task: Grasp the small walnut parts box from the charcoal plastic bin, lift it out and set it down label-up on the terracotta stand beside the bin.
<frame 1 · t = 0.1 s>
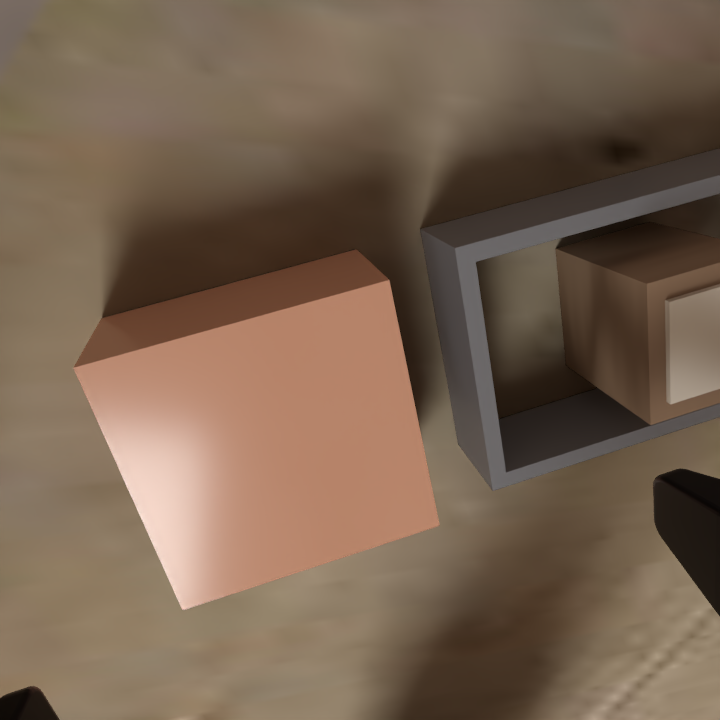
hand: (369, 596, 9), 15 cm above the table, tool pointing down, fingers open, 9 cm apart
terracotta stand: (267, 396, 23), on the table
charcoal bin: (607, 296, 25), on the table
walnut box: (651, 316, 22), in the charcoal bin
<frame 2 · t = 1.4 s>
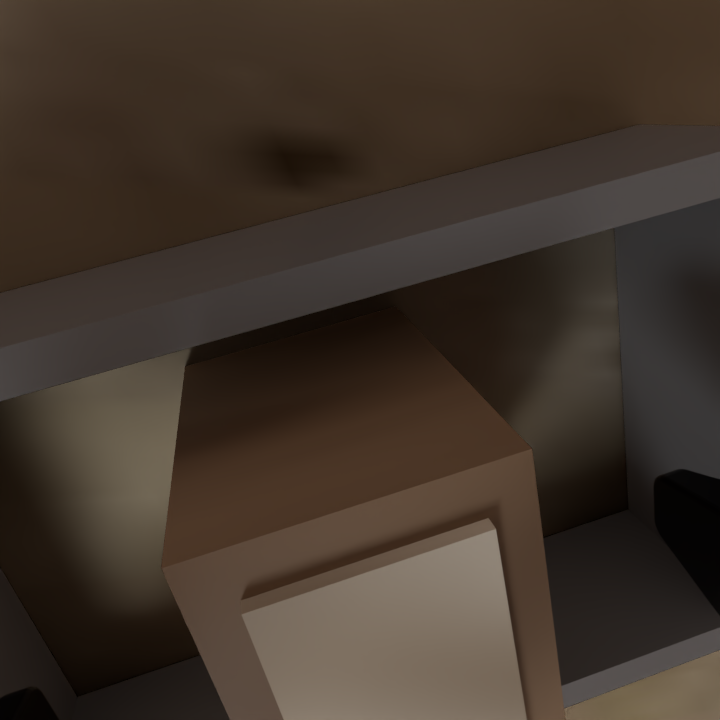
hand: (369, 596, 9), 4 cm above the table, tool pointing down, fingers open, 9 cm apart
charcoal bin: (325, 450, 12), on the table
walnut box: (353, 536, 10), in the charcoal bin
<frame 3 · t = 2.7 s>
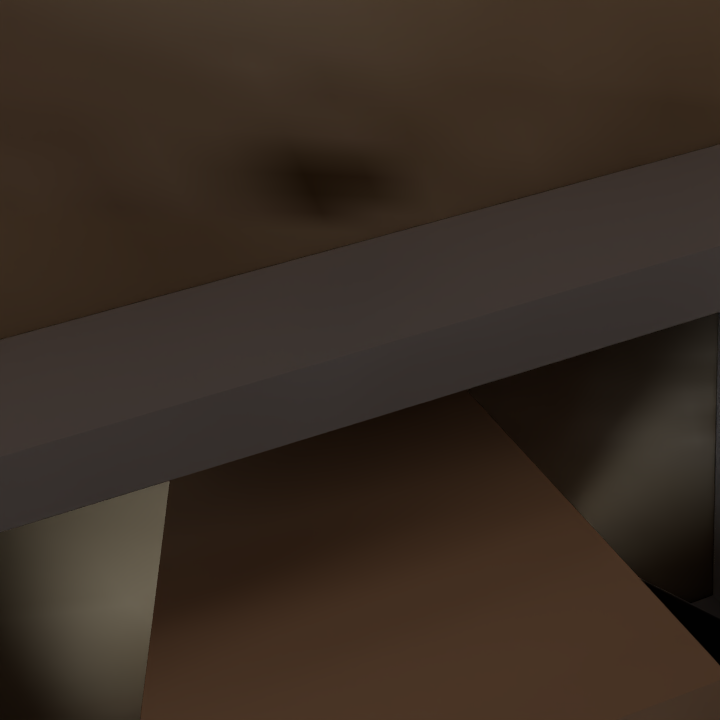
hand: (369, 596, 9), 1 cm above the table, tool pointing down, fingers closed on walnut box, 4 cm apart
charcoal bin: (352, 542, 10), on the table
walnut box: (400, 693, 7), in the charcoal bin, touching gripper
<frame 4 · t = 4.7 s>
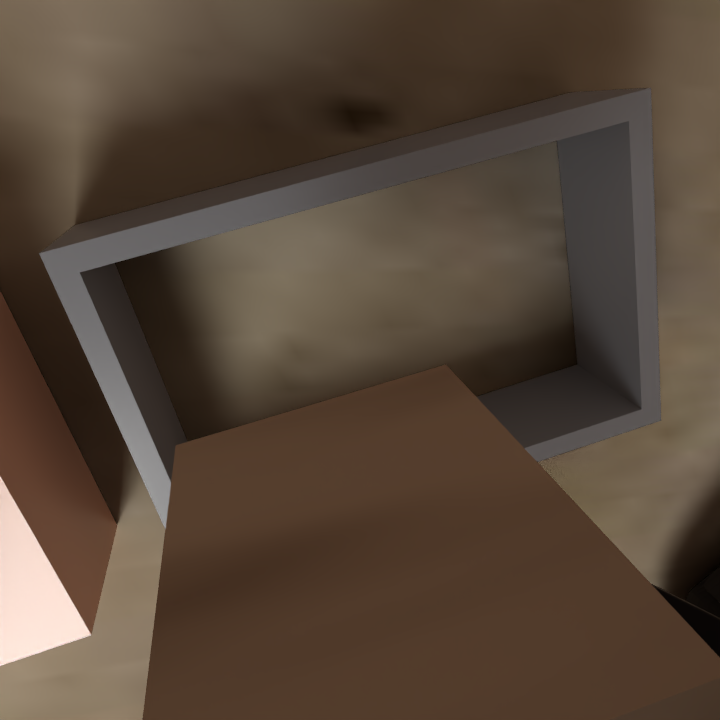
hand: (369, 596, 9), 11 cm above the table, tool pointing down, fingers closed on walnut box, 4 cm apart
charcoal bin: (371, 310, 19), on the table
walnut box: (402, 691, 7), point 12 cm above the table, touching gripper
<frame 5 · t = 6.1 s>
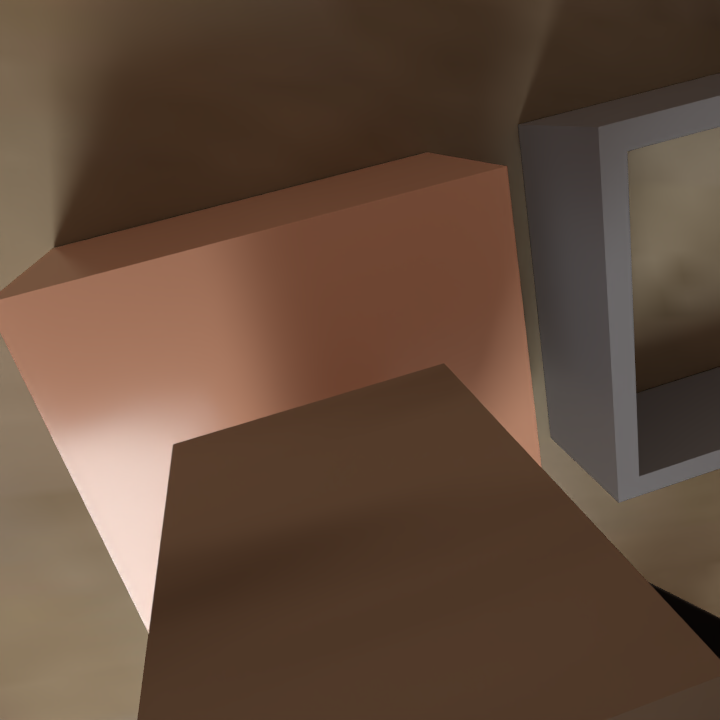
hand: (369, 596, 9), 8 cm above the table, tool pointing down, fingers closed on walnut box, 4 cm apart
terracotta stand: (295, 368, 16), on the table
walnut box: (399, 691, 7), point 10 cm above the table, touching gripper
when the fingers open (7 cm above the table, at t = 7.0 s): walnut box drops 2 cm, resting on terracotta stand.
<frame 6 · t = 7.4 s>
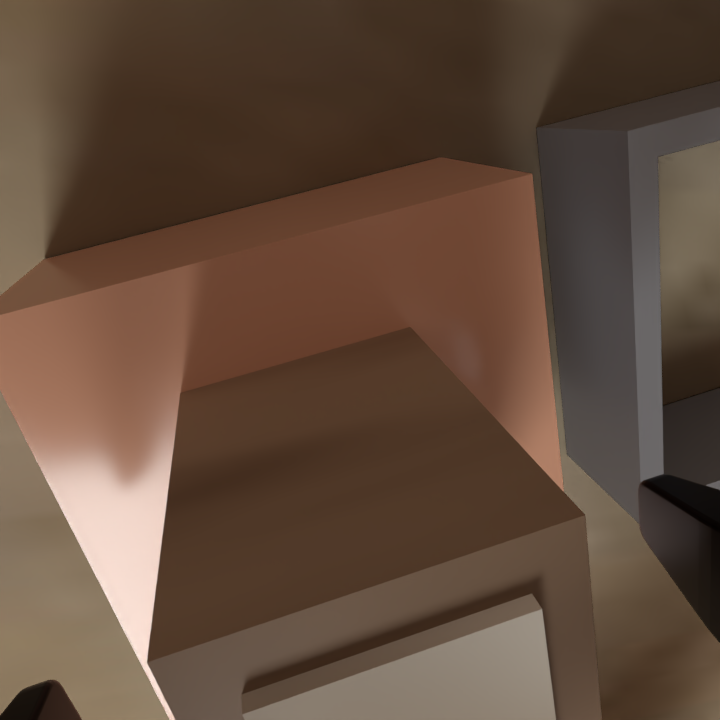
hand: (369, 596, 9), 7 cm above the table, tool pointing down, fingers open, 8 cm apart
terracotta stand: (300, 384, 15), on the table
walnut box: (366, 587, 9), on the terracotta stand, point 7 cm above the table
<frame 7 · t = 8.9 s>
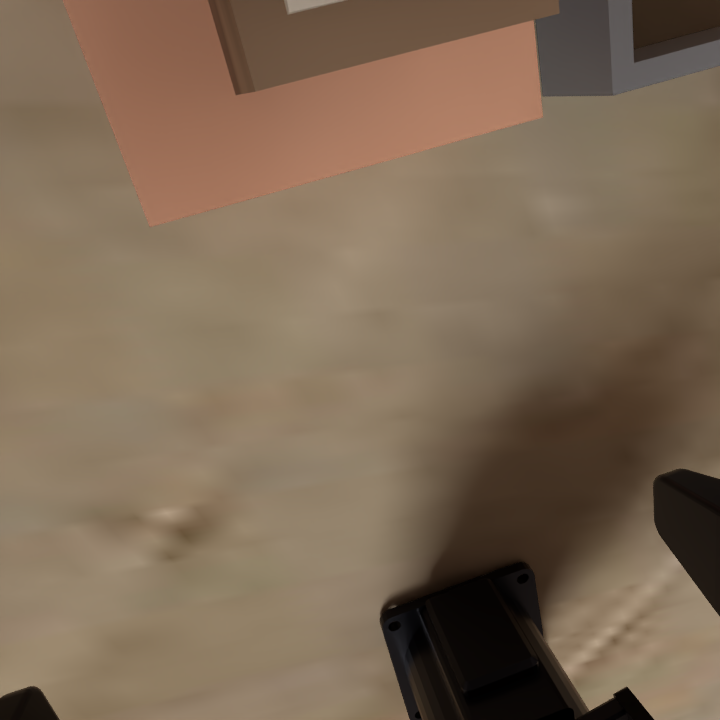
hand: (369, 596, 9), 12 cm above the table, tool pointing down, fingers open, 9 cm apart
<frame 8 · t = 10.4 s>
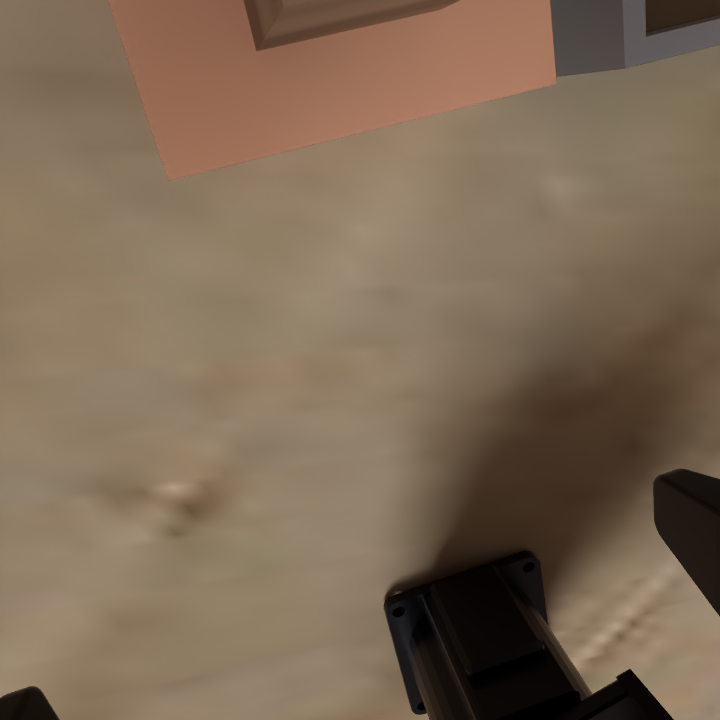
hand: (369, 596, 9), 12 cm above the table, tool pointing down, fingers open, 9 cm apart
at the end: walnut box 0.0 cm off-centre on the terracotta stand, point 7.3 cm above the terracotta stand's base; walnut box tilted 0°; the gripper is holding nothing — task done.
